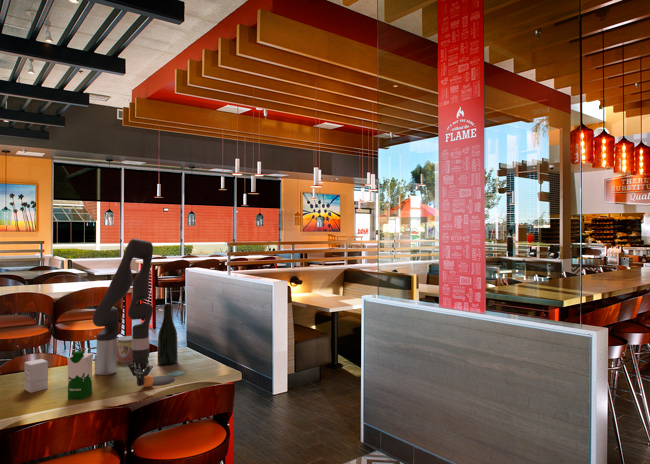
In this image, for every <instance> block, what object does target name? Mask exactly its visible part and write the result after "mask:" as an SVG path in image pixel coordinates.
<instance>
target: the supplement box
mask: <svg viewBox="0 0 650 464" xmlns="http://www.w3.org/2000/svg"><path fill="white" fill-rule="evenodd" d="M48 367H49V362H48V360H45V359H43V358H40V359H39V358H38V359H34V360H28V361H25V362H24V391H26V392H28V393H30V394H31V393H36V392H39V391H43V390H48V389H49V368H48Z"/></svg>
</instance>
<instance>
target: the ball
mask: <svg viewBox="0 0 650 464" xmlns="http://www.w3.org/2000/svg"><path fill="white" fill-rule="evenodd" d="M153 377H154V376H152V375H150V374H148V375H147V376H145V377H144V384H143V385H142V386H141V387H143V388H150V387H152V386H151V385H152V384H153V381H154V380H153Z"/></svg>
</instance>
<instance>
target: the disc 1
mask: <svg viewBox="0 0 650 464" xmlns="http://www.w3.org/2000/svg"><path fill="white" fill-rule="evenodd" d="M152 377H153V380H154V381H153V384H152V385H151V386H150V387H153V386H154V387H156V386H164V385H168V384H171V383H173V382H174V381H175V379H176V378H175V376H169V375H158V376H152Z"/></svg>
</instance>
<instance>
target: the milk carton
mask: <svg viewBox="0 0 650 464" xmlns="http://www.w3.org/2000/svg"><path fill="white" fill-rule="evenodd" d="M93 359H94V353H93V352H91V353H87V352H86V353H84V350H77V351H73V352H72V355H70V356H68V357H66V361H67V400H85V399H87V398H89V396H91V395H92V394H93Z"/></svg>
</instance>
